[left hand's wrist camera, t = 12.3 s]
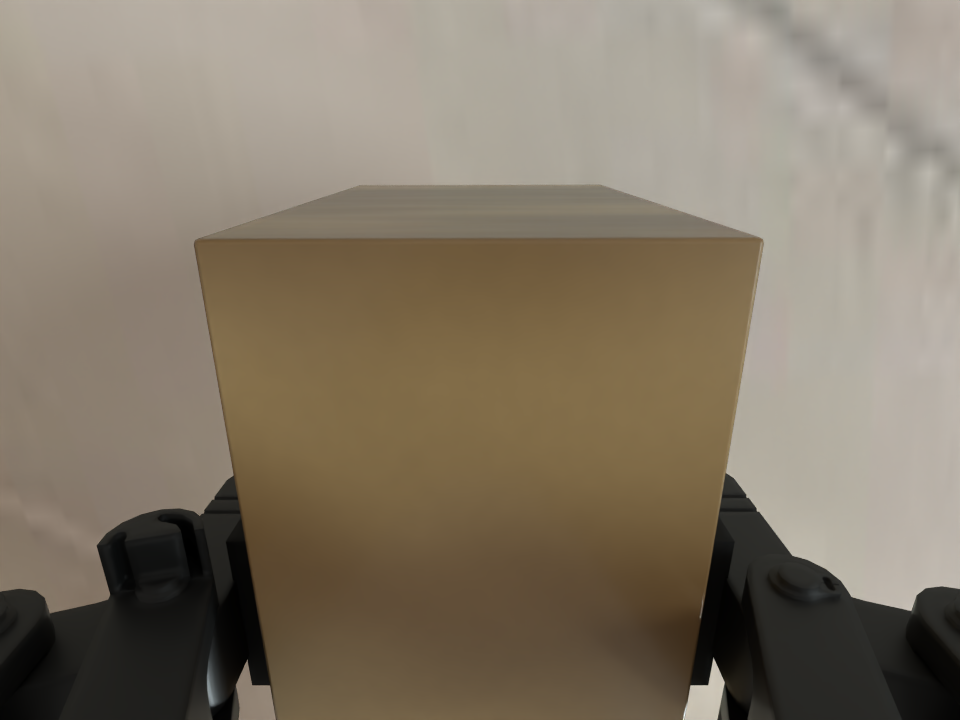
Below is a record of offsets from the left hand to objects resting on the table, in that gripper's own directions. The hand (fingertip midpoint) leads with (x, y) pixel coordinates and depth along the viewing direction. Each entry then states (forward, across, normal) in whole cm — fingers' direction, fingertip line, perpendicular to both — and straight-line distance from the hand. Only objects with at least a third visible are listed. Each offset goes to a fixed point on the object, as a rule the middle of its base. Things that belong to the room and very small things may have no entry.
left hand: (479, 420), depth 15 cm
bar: (+1, 0, -26) cm, 26 cm away
